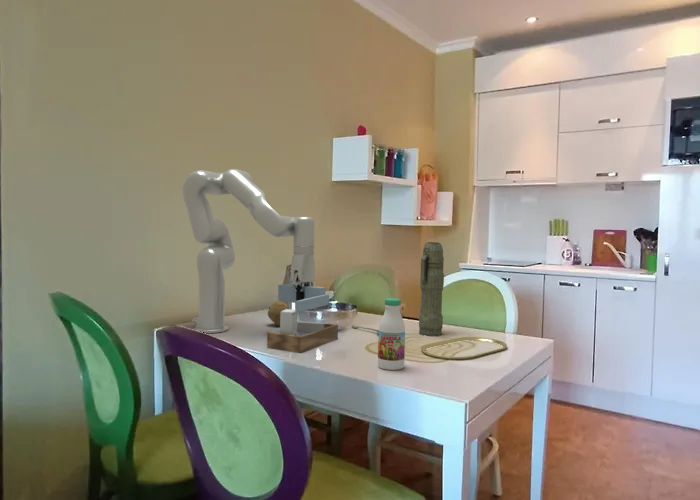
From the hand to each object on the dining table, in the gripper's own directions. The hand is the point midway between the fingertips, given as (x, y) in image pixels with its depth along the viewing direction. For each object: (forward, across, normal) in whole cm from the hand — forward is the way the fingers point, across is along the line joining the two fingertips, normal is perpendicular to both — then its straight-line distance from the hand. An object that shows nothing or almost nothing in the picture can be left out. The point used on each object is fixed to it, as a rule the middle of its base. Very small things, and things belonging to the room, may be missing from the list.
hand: (303, 301), depth 189 cm
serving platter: (+14, -13, +56) cm, 59 cm away
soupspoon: (+14, -21, +18) cm, 31 cm away
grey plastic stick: (+13, -8, -1) cm, 16 cm away
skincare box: (+13, +15, +3) cm, 20 cm away
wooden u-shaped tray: (+13, +8, +5) cm, 16 cm away
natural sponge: (+13, -12, -19) cm, 26 cm away
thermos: (+14, -31, +38) cm, 51 cm away
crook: (+1, +8, 0) cm, 8 cm away
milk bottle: (+14, +20, +43) cm, 49 cm away
